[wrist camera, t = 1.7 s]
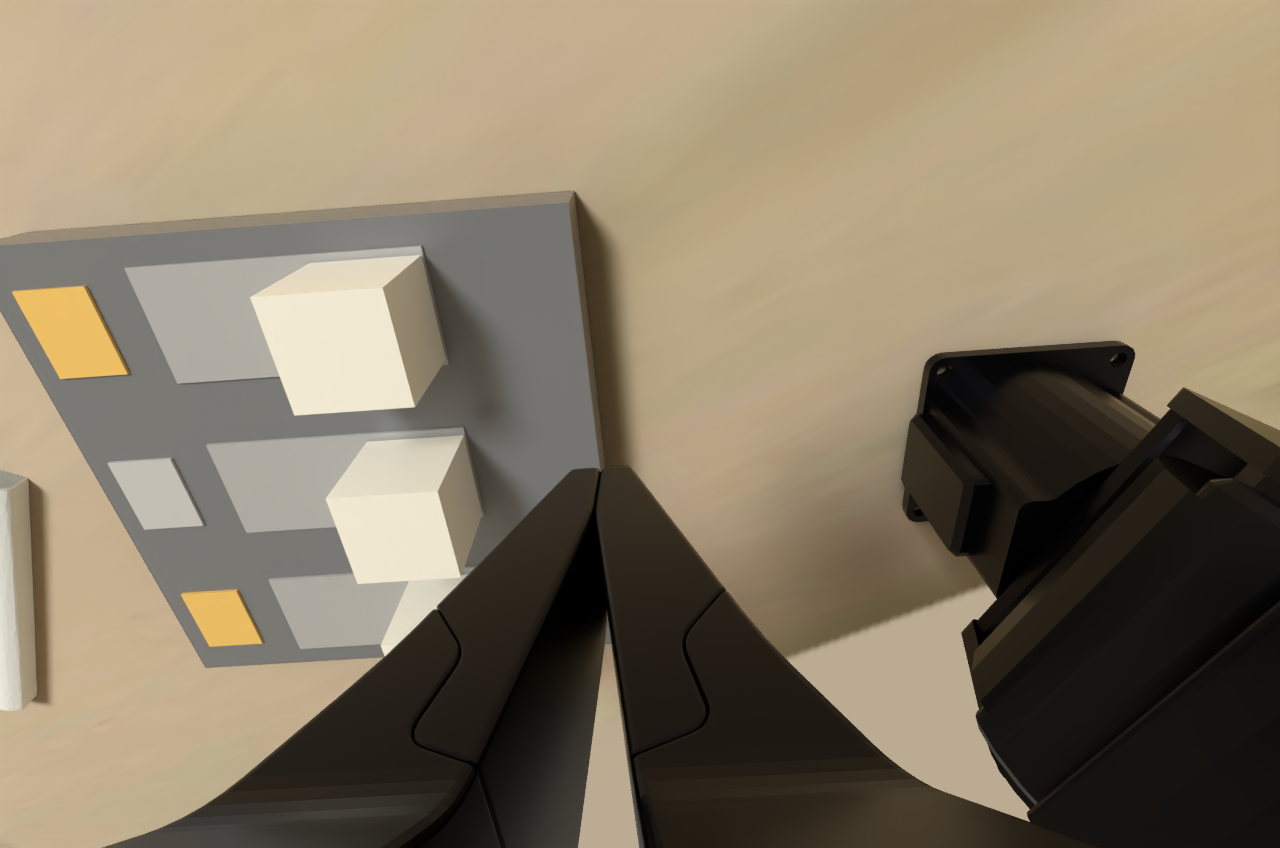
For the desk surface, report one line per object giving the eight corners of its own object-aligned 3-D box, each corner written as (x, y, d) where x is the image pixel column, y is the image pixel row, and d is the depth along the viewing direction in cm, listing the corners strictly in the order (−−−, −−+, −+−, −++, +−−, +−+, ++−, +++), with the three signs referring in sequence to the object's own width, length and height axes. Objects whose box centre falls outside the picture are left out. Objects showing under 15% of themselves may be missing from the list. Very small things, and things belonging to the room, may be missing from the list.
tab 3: (495, 572, 22) (477, 639, 19) (510, 634, 23) (495, 704, 21) (410, 577, 22) (380, 645, 19) (429, 639, 23) (404, 709, 21)
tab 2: (463, 435, 19) (437, 491, 17) (482, 514, 21) (460, 577, 18) (366, 441, 19) (325, 498, 17) (391, 520, 21) (357, 584, 18)
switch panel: (574, 190, 18) (567, 203, 16) (621, 604, 26) (620, 644, 24) (27, 232, 18) (-40, 249, 17) (234, 628, 26) (204, 669, 24)
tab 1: (421, 254, 17) (382, 287, 14) (446, 359, 18) (415, 407, 16) (309, 263, 17) (250, 297, 14) (343, 367, 18) (294, 415, 16)
